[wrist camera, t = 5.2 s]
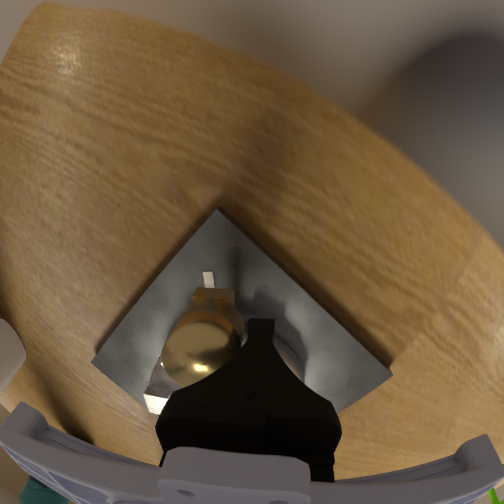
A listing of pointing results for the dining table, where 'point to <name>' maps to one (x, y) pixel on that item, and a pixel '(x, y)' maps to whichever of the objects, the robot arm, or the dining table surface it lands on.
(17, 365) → the foam cup
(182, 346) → the metal round piece
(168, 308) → the dark grey square plate
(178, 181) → the dining table surface
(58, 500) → the beverage bottle
